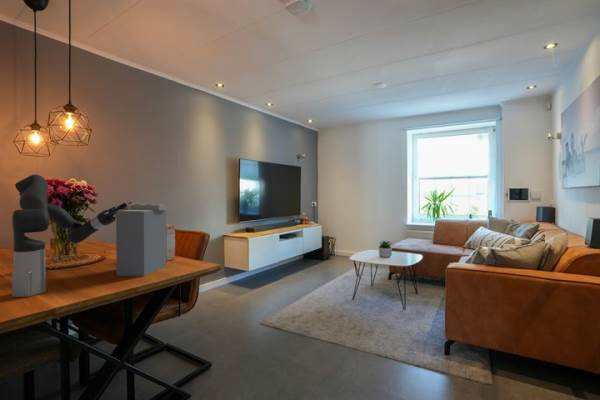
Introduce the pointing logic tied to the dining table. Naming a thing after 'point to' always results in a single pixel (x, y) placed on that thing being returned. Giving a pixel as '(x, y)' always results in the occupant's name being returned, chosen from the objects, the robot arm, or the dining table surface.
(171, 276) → the dining table surface
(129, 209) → the striped beige bar
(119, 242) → the chute stand
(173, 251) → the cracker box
